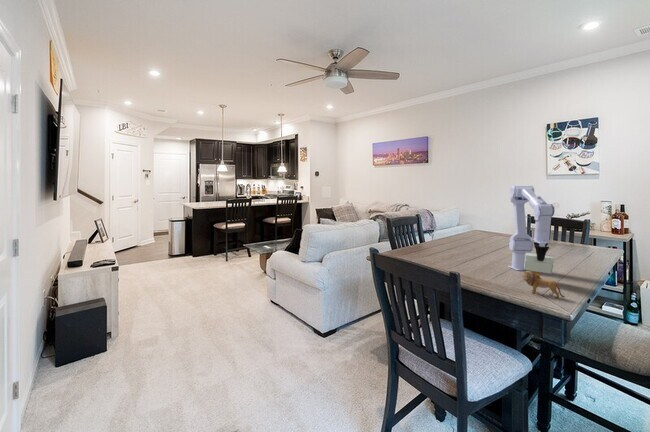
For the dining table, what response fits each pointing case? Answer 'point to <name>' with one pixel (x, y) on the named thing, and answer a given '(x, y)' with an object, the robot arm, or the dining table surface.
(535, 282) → the lion figurine
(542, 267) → the pale green block
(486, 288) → the dining table surface
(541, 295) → the dining table surface
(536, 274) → the ball
